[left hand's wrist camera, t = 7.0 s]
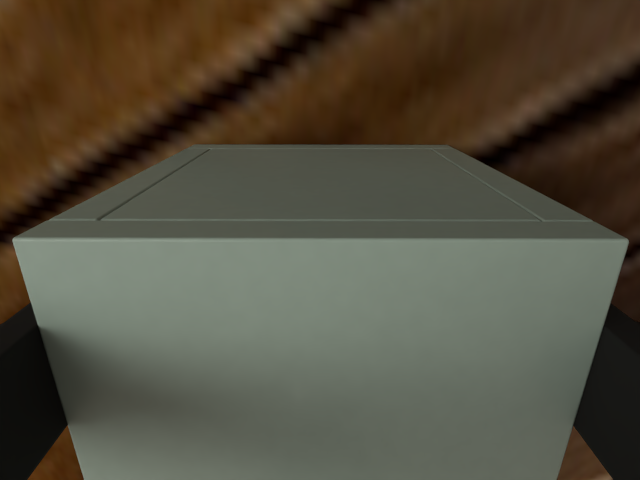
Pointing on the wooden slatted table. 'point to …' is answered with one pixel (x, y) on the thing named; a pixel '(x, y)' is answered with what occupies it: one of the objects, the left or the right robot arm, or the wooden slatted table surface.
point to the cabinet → (320, 317)
